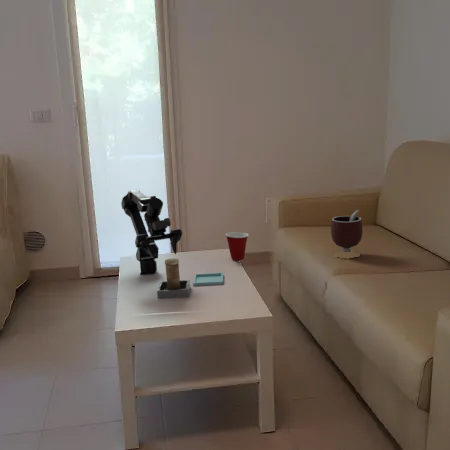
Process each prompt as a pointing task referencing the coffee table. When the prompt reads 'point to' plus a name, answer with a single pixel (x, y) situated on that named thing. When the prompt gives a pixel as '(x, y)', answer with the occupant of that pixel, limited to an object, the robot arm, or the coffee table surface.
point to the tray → (208, 279)
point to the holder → (175, 293)
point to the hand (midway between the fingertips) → (164, 255)
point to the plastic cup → (237, 244)
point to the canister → (172, 274)
